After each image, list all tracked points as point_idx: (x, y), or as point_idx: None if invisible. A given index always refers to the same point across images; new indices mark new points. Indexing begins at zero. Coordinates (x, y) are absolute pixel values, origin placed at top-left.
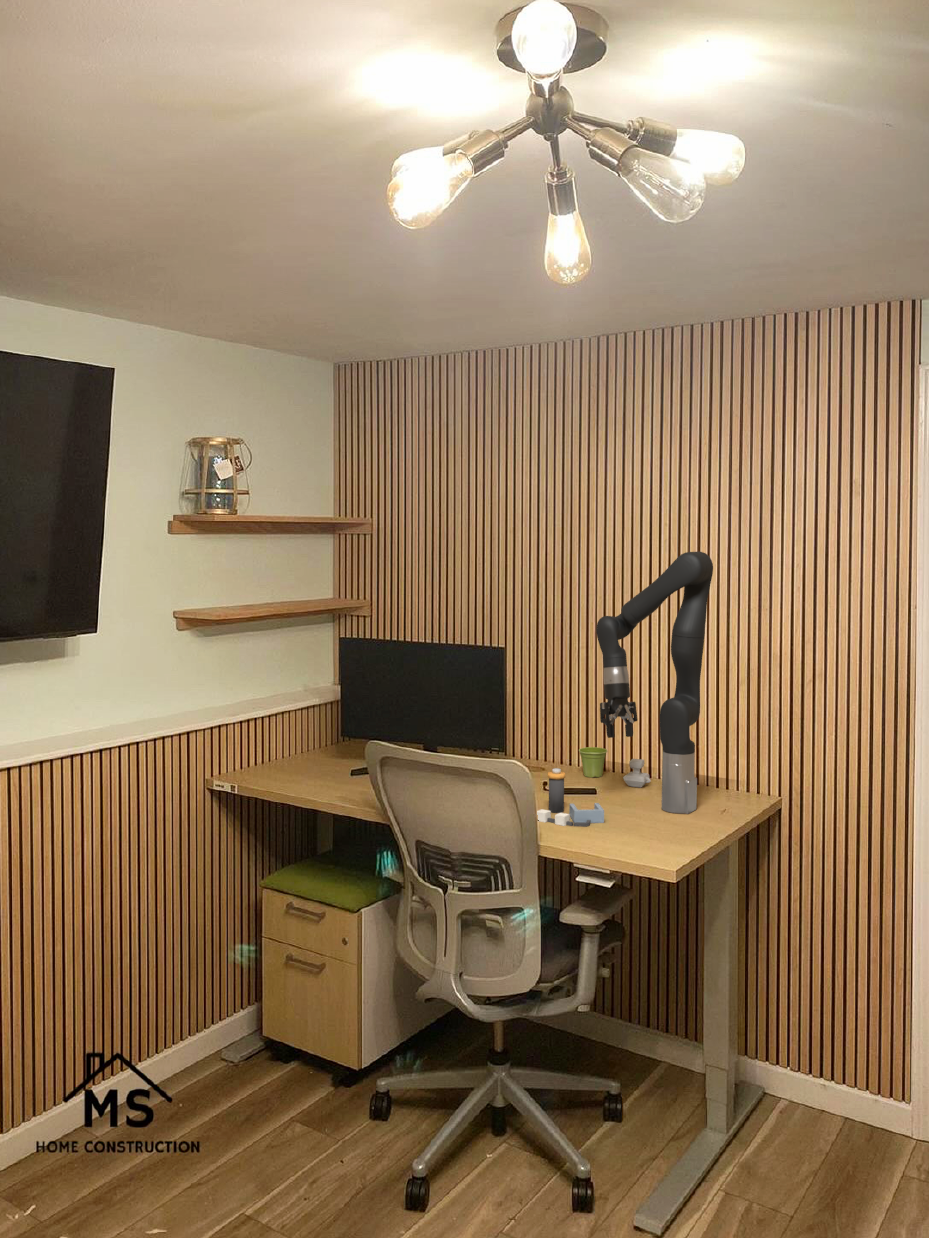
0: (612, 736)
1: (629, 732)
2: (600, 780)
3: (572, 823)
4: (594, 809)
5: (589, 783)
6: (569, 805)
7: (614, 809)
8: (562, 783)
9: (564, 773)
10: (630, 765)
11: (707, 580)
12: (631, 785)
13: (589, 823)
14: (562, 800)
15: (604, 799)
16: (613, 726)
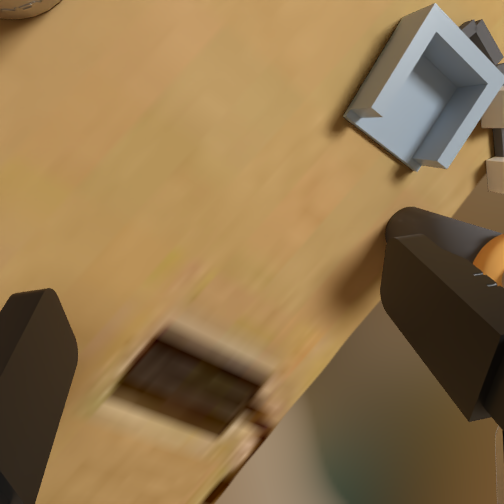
0: (419, 242)
1: (45, 342)
2: None
3: (497, 65)
4: (448, 42)
5: (84, 451)
6: (442, 167)
7: (249, 130)
8: (484, 231)
9: (502, 252)
10: None
11: None
12: None
13: (461, 27)
14: (432, 216)
15: (184, 259)
16: (488, 314)
